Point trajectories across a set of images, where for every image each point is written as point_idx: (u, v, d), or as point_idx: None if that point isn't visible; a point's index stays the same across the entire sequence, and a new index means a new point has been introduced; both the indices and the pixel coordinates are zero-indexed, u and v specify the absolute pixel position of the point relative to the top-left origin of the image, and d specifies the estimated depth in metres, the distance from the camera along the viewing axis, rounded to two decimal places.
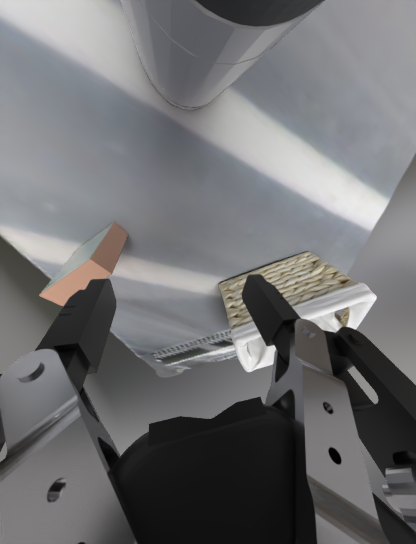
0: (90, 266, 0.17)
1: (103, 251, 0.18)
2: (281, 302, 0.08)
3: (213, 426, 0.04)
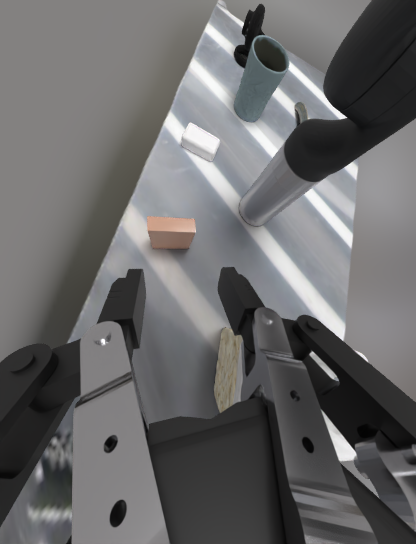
0: (190, 221, 0.28)
1: None
2: (247, 292, 0.08)
3: (213, 426, 0.04)
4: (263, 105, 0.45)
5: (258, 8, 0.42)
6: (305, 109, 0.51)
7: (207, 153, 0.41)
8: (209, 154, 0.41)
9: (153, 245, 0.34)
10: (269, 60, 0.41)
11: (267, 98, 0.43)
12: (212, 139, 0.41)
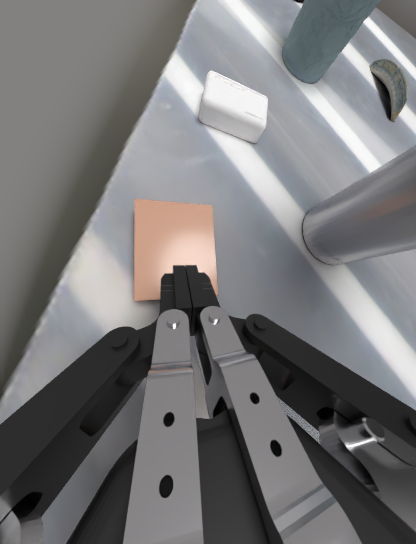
0: None
1: None
2: (201, 291, 0.08)
3: (213, 426, 0.04)
4: (341, 47, 0.25)
5: None
6: (399, 69, 0.32)
7: (252, 128, 0.22)
8: (257, 128, 0.21)
9: (137, 277, 0.15)
10: None
11: (354, 31, 0.23)
12: (256, 99, 0.21)
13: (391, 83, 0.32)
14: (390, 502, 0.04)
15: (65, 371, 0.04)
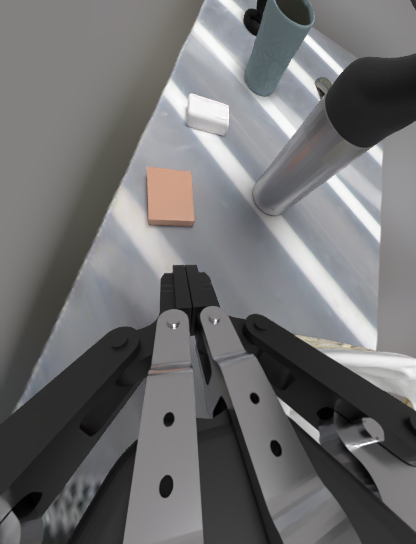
0: None
1: None
2: (201, 291, 0.08)
3: (213, 426, 0.04)
4: (280, 73, 0.38)
5: None
6: None
7: (220, 126, 0.35)
8: (223, 126, 0.34)
9: (149, 207, 0.28)
10: (289, 17, 0.34)
11: (285, 64, 0.36)
12: (220, 108, 0.34)
13: None
14: (390, 502, 0.04)
15: (65, 371, 0.04)
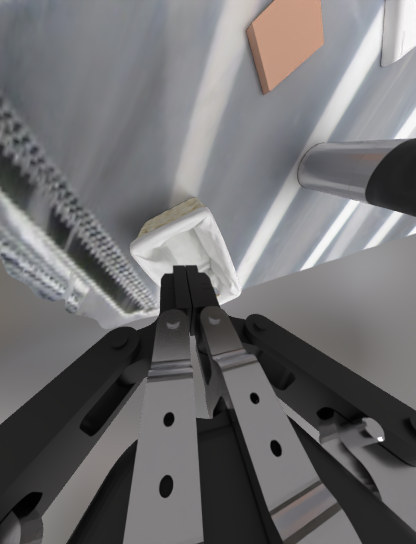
0: None
1: None
2: (201, 291, 0.08)
3: (213, 426, 0.04)
4: None
5: None
6: None
7: (392, 51, 0.29)
8: (392, 55, 0.29)
9: (265, 12, 0.23)
10: None
11: None
12: None
13: None
14: (390, 502, 0.04)
15: (65, 371, 0.04)
